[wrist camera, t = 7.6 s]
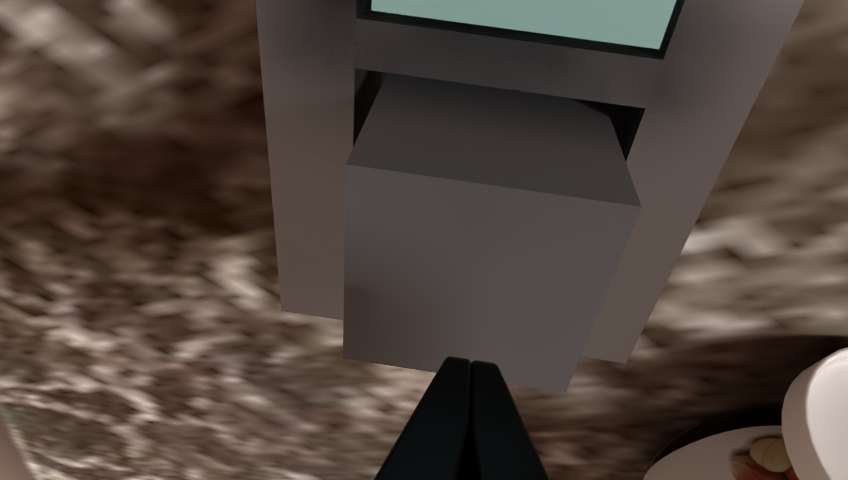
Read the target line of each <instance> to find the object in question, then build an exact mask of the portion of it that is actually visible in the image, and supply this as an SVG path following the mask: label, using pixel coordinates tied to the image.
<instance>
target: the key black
mask: <svg viewBox="0 0 848 480" xmlns="http://www.w3.org/2000/svg"><path fill="white" fill-rule="evenodd" d="M641 207H642V206H641V204H640V201H639V198H638V195H637V192H636V189H635V187H634V184H633V181H632V178H631V175H630V173H629V170H628V167H627V164H626V161H625V158H624V156H623V153H622V150H621V147H620V144H619V142H618V139H617V136H616V133H615V130H614V127H613V125H612V122H611V119H610V116H609V113H608V110H607V108H606V105H605V103H603V102H596V101H589V100H581V99H574V98H567V97H560V96H552V95H545V94H538V93H531V92H524V91H516V90H509V89H502V88H495V87H487V86H480V85H473V84H466V83H459V82H451V81H444V80H437V79H430V78H422V77H415V76H408V75H401V74H393V73H387V75H386V77H385V79H384V81H383V83H382V86H381V88H380V90H379V92H378V94H377V96H376V99H375V101H374V103H373V105H372V107H371V110H370V112H369V114H368V116H367V118H366V121H365V123H364V125H363V127H362V129H361V131H360V134H359V136H358V138H357V140H356V142H355V145H354V147H353V149H352V151H351V153H350V156H349V158H348V160H347V162H346V166H345V250H344V334H343V358H345V359H351V360H358V361H364V362H371V363H377V364H384V365H390V366H397V367H403V368H409V369H416V370H422V371H429V372H435V373H437V371H438V370H439V368H440V366H441V365H442V363H443V361H444V360H445V358H446V357H448V356H453V357H460V358H466V359H469V360H470V361H471V363H472V362H473V361H474V360H479V361H486V362H492V363H495V364H496V365H497V366H498V367H499V369H500V371H501V373H502V375H503V378H504V380H505V382H506V384H513V385H519V386H526V387H532V388H538V389H545V390H551V391H558V392H564V393H566V391H567V388H568V386H569V383H570V381H571V379H572V376H573V374H574V371H575V369H576V366H577V364H578V361H579V359H580V356H581V354H582V352H583V349H584V347H585V344H586V342H587V339H588V337H589V334H590V332H591V330H592V327H593V325H594V322H595V320H596V317H597V315H598V312H599V310H600V308H601V305H602V303H603V300H604V298H605V295H606V293H607V290H608V288H609V286H610V283H611V281H612V278H613V276H614V273H615V271H616V268H617V266H618V264H619V261H620V259H621V256H622V254H623V251H624V249H625V246H626V244H627V242H628V239H629V237H630V234H631V232H632V229H633V227H634V224H635V222H636V219H637V217H638V215H639V212H640V210H641Z"/></svg>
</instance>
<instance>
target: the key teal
mask: <svg viewBox="0 0 848 480" xmlns="http://www.w3.org/2000/svg"><path fill="white" fill-rule="evenodd" d="M675 3H676V0H372V8H371V10H372V11H379V12H387V13H394V14H402V15H409V16H416V17H424V18H431V19H439V20H446V21H453V22H461V23H468V24H476V25H483V26H490V27H498V28H505V29H513V30H520V31H528V32H535V33H542V34H550V35H557V36H565V37H572V38H579V39H587V40H594V41H602V42H609V43H616V44H624V45H631V46H639V47H646V48H653V49H659V48H660V45H661V42H662V40H663V37H664V34H665V31H666V28H667V25H668V23H669V20H670V17H671V14H672V11H673V9H674V6H675Z"/></svg>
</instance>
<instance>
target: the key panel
mask: <svg viewBox="0 0 848 480" xmlns="http://www.w3.org/2000/svg"><path fill="white" fill-rule="evenodd" d="M803 2H804V0H676V3H675V6H674V9H673V11H672V14H671V17H670V20H669V23H668V25H667V28H666V31H665V34H664V37H663V40H662V42H661V45H660V48H659V49H653V48H646V47H639V46H631V45H624V44H616V43H609V42H602V41H594V40H587V39H579V38H572V37H565V36H557V35H550V34H542V33H535V32H528V31H520V30H513V29H505V28H498V27H490V26H483V25H476V24H468V23H461V22H453V21H446V20H439V19H431V18H424V17H416V16H409V15H402V14H394V13H387V12H379V11H372V10H371V8H372V0H255V4H256V16H257V27H258V39H259V51H260V63H261V75H262V86H263V98H264V110H265V122H266V134H267V145H268V157H269V169H270V181H271V193H272V204H273V216H274V228H275V240H276V252H277V263H278V275H279V287H280V299H281V311H287V312H293V313H300V314H306V315H313V316H319V317H326V318H332V319H339V320H344V250H345V166H346V162H347V160H348V158H349V156H350V153H351V151H352V149H353V147H354V145H355V142H356V140H357V138H358V136H359V134H360V131H361V129H362V127H363V125H364V123H365V121H366V118H367V116H368V114H369V112H370V110H371V107H372V105H373V103H374V101H375V99H376V96H377V94H378V92H379V90H380V88H381V86H382V83H383V81H384V79H385V77H386V75H387V73H393V74H401V75H408V76H415V77H422V78H430V79H437V80H444V81H451V82H459V83H466V84H473V85H480V86H487V87H495V88H502V89H509V90H516V91H524V92H531V93H538V94H545V95H552V96H560V97H567V98H574V99H581V100H589V101H596V102H603V103H605V105H606V108H607V110H608V113H609V116H610V119H611V122H612V125H613V127H614V130H615V133H616V136H617V139H618V142H619V144H620V147H621V150H622V153H623V156H624V158H625V161H626V164H627V167H628V170H629V173H630V175H631V178H632V181H633V184H634V187H635V189H636V192H637V195H638V198H639V201H640V204H641V206H642V207H641V210H640V212H639V215H638V217H637V219H636V222H635V224H634V227H633V229H632V232H631V234H630V237H629V239H628V242H627V244H626V246H625V249H624V251H623V254H622V256H621V259H620V261H619V264H618V266H617V268H616V271H615V273H614V276H613V278H612V281H611V283H610V286H609V288H608V290H607V293H606V295H605V298H604V300H603V303H602V305H601V308H600V310H599V312H598V315H597V317H596V320H595V322H594V325H593V327H592V330H591V332H590V334H589V337H588V339H587V342H586V344H585V347H584V349H583V352H582V354H581V357H588V358H594V359H601V360H607V361H614V362H620V363H627V361H628V359H629V357H630V355H631V353H632V351H633V349H634V347H635V345H636V343H637V340H638V338H639V336H640V334H641V332H642V330H643V328H644V326H645V324H646V322H647V320H648V318H649V316H650V314H651V312H652V310H653V308H654V306H655V304H656V302H657V300H658V298H659V296H660V294H661V292H662V290H663V288H664V285H665V283H666V281H667V279H668V277H669V275H670V273H671V271H672V269H673V267H674V265H675V263H676V261H677V259H678V257H679V255H680V253H681V251H682V249H683V247H684V245H685V243H686V241H687V239H688V237H689V235H690V233H691V230H692V228H693V226H694V224H695V222H696V220H697V218H698V216H699V214H700V212H701V210H702V208H703V206H704V204H705V202H706V200H707V198H708V196H709V194H710V192H711V190H712V188H713V186H714V184H715V182H716V180H717V178H718V175H719V173H720V171H721V169H722V167H723V165H724V163H725V161H726V159H727V157H728V155H729V153H730V151H731V149H732V147H733V145H734V143H735V141H736V139H737V137H738V135H739V133H740V131H741V129H742V127H743V125H744V123H745V120H746V118H747V116H748V114H749V112H750V110H751V108H752V106H753V104H754V102H755V100H756V98H757V96H758V94H759V92H760V90H761V88H762V86H763V84H764V82H765V80H766V78H767V76H768V74H769V72H770V70H771V68H772V65H773V63H774V61H775V59H776V57H777V55H778V53H779V51H780V49H781V47H782V45H783V43H784V41H785V39H786V37H787V35H788V33H789V31H790V29H791V27H792V25H793V23H794V21H795V19H796V17H797V15H798V13H799V11H800V8H801V6H802V4H803Z"/></svg>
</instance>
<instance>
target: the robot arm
mask: <svg viewBox="0 0 848 480" xmlns="http://www.w3.org/2000/svg"><path fill="white" fill-rule="evenodd" d="M374 480H549V478H548V476H547V473H546V471H545V469H544V467H543V465H542V462H541V460H540V458H539V456H538V453H537V451H536V449H535V447H534V444H533V442H532V440H531V438H530V436H529V433H528V431H527V429H526V427H525V424H524V422H523V420H522V418H521V416H520V413H519V411H518V409H517V407H516V404H515V402H514V400H513V398H512V395H511V393H510V391H509V389H508V387H507V384H506V382H505V380H504V378H503V375H502V373H501V371H500V369H499V367H498V366H497V365H496V364H495V363H492V362H486V361H479V360H474V361H473V362H472V363H471V361H470V360H469V359H466V358H460V357H453V356H448V357H446V358H445V360H444V361H443V363H442V365H441V366H440V368H439V370H438V371H437V373H436V375H435V377H434V378H433V380H432V382H431V383H430V385H429V387H428V388H427V390H426V392H425V393H424V395H423V397H422V399H421V400H420V402H419V404H418V405H417V407H416V409H415V410H414V412H413V414H412V416H411V417H410V419H409V421H408V422H407V424H406V426H405V427H404V429H403V431H402V433H401V434H400V436H399V438H398V439H397V441H396V443H395V444H394V446H393V448H392V449H391V451H390V453H389V455H388V456H387V458H386V460H385V461H384V463H383V465H382V466H381V468H380V470H379V472H378V473H377V475H376V477H375V478H374Z"/></svg>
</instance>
